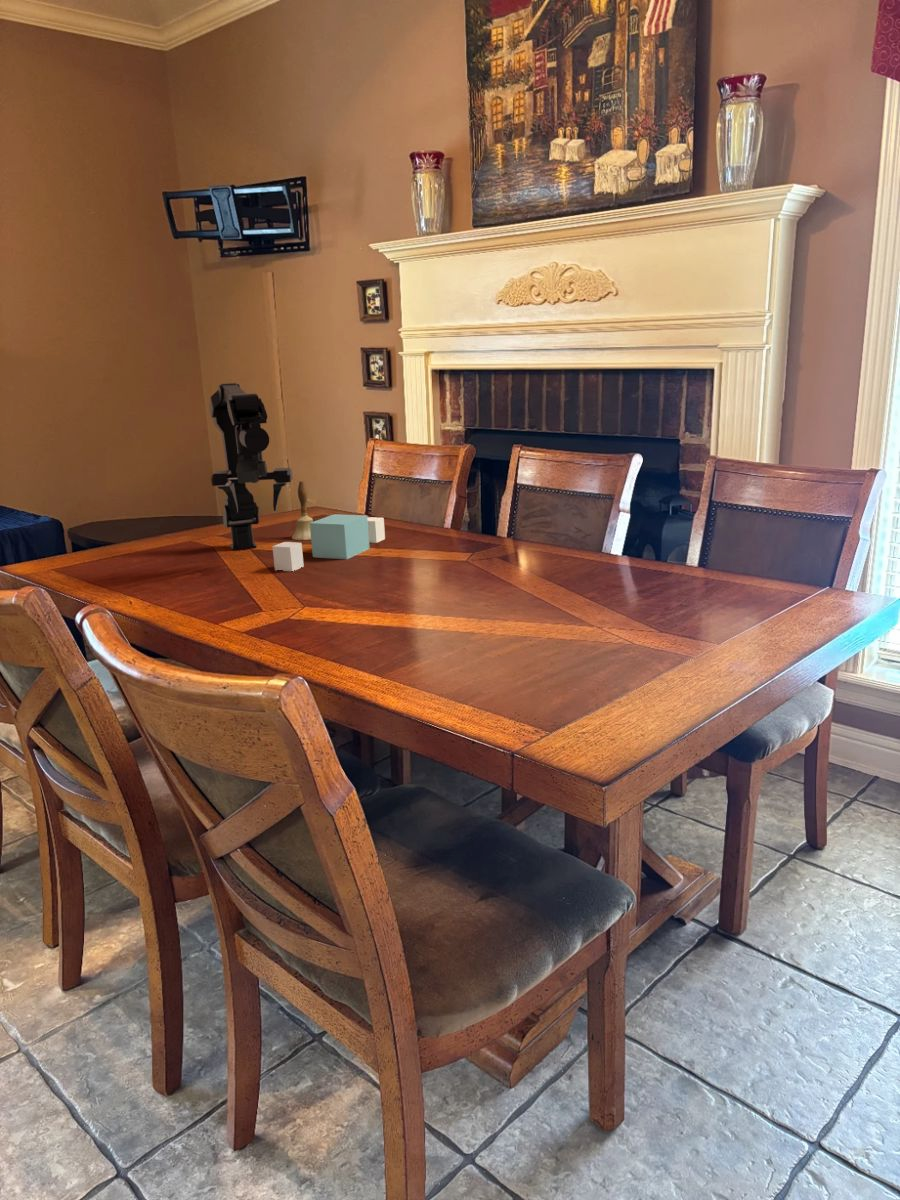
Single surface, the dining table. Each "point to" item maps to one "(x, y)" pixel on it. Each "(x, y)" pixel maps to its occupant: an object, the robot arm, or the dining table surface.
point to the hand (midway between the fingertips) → (255, 511)
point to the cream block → (376, 529)
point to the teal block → (339, 536)
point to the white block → (288, 556)
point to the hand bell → (303, 516)
